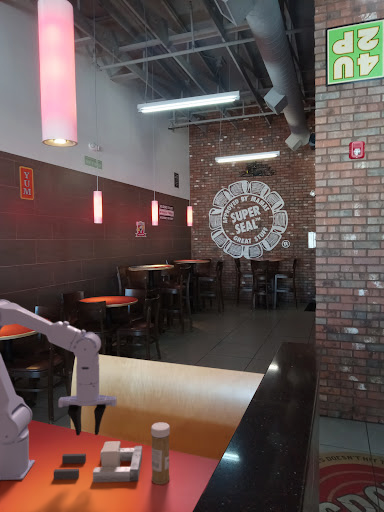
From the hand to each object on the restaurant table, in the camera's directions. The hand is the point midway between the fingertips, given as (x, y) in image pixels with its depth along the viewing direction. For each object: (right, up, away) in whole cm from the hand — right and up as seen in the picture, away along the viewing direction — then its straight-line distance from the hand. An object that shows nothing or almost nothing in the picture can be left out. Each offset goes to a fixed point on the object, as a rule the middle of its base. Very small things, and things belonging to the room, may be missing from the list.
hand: (87, 433), depth 96 cm
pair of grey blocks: (-4, -9, 0) cm, 10 cm away
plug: (+6, -10, 0) cm, 11 cm away
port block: (+8, -9, 0) cm, 12 cm away
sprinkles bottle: (+19, -10, -4) cm, 22 cm away
